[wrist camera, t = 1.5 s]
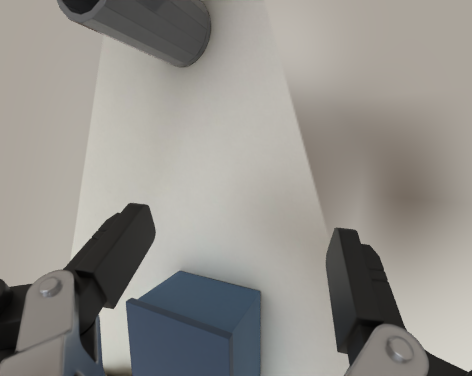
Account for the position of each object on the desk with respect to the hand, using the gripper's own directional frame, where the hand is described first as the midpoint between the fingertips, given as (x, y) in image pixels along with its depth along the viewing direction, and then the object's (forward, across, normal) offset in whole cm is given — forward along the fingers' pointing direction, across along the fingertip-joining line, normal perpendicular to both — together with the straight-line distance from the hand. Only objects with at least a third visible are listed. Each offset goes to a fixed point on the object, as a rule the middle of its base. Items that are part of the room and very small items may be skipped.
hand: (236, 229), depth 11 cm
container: (+5, +3, +21) cm, 22 cm away
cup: (+19, +9, -6) cm, 22 cm away
